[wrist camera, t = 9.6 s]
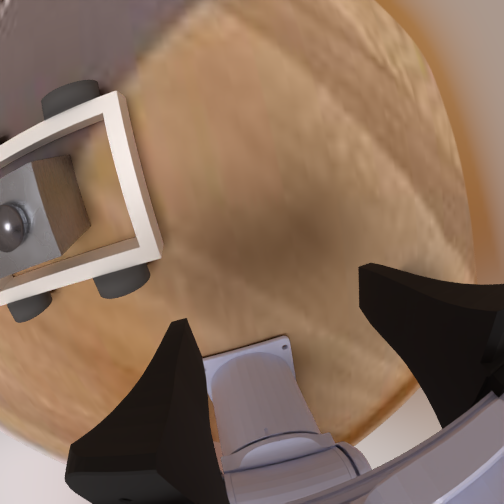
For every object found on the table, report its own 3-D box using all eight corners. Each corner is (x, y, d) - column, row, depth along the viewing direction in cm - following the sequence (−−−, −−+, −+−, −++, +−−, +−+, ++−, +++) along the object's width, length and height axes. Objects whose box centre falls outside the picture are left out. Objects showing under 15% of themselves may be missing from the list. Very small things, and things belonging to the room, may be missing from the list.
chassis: (169, 260, 20) (166, 284, 16) (17, 304, 18) (-2, 328, 15) (122, 79, 15) (108, 67, 11) (-33, 159, 13) (-61, 166, 10)
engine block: (91, 225, 18) (55, 262, 12) (36, 245, 17) (-7, 285, 11) (70, 154, 16) (23, 163, 10) (14, 181, 15) (-38, 200, 9)
